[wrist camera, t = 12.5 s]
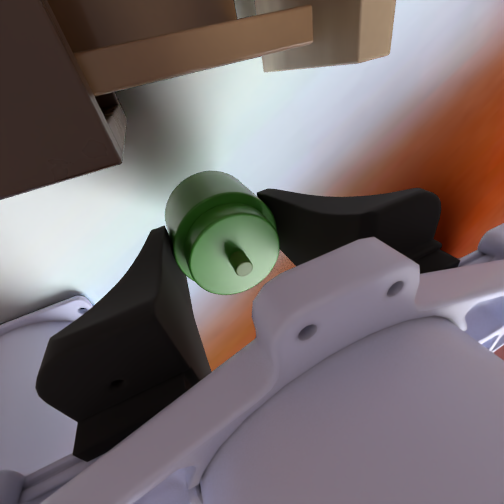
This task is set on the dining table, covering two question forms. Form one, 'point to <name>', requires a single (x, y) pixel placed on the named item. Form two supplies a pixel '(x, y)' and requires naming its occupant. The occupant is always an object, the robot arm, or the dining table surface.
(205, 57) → the drawer
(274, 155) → the dining table surface
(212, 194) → the green lidded jar
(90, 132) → the cabinet
